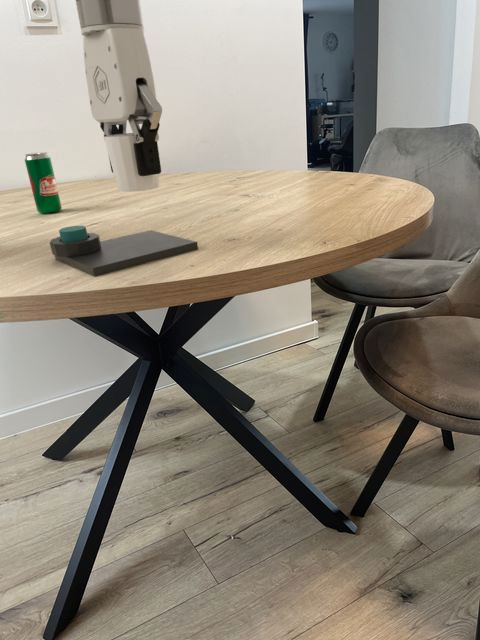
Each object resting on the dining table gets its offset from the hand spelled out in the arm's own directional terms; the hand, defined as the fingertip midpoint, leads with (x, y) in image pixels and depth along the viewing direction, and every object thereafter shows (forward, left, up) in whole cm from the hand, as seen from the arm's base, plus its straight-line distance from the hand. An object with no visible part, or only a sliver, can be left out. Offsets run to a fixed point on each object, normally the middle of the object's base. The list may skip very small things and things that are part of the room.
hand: (135, 172), depth 70 cm
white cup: (0, 0, -2) cm, 2 cm away
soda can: (+4, +49, -11) cm, 50 cm away
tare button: (-9, +5, -8) cm, 13 cm away
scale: (-3, +1, -11) cm, 11 cm away
